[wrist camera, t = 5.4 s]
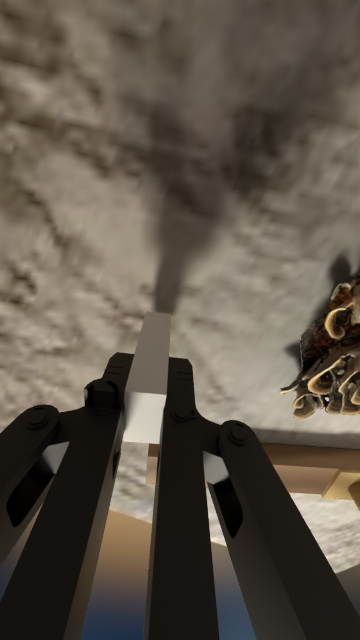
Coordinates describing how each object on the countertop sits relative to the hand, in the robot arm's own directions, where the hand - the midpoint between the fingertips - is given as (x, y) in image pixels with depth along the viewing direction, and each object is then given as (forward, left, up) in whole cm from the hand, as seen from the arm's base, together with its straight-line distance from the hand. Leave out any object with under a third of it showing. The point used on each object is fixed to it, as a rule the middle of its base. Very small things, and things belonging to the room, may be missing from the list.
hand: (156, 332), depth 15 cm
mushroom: (0, +13, -2) cm, 13 cm away
